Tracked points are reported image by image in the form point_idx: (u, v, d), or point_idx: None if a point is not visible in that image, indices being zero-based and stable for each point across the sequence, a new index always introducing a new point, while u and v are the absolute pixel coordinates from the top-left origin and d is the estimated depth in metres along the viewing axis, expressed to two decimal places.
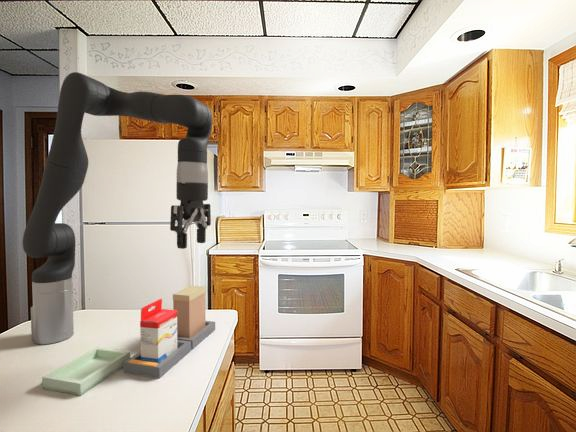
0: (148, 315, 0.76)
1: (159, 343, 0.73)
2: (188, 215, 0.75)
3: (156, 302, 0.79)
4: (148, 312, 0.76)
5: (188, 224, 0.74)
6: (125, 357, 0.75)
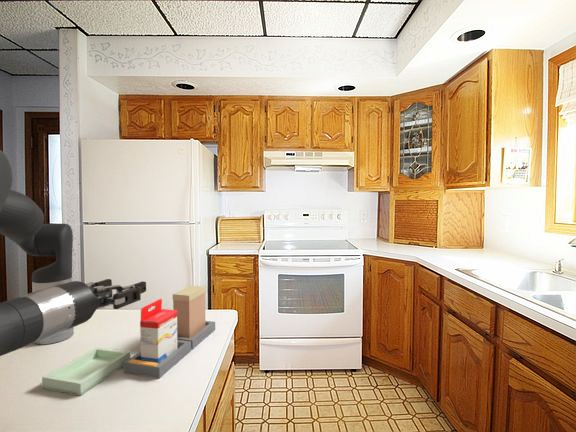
0: (148, 315, 0.76)
1: (159, 343, 0.73)
2: None
3: (155, 302, 0.79)
4: (148, 312, 0.76)
5: None
6: (125, 357, 0.75)
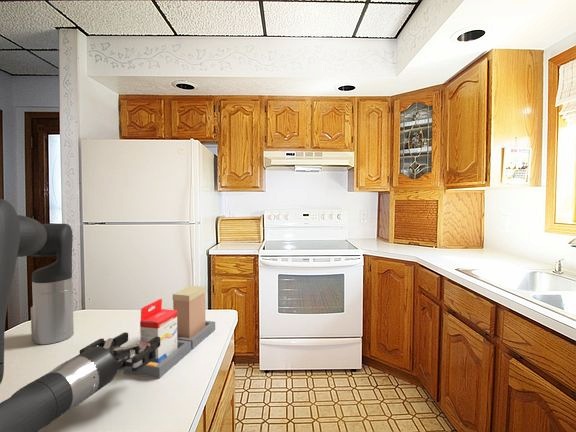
0: (148, 315, 0.76)
1: None
2: None
3: (156, 302, 0.79)
4: (148, 312, 0.76)
5: None
6: None
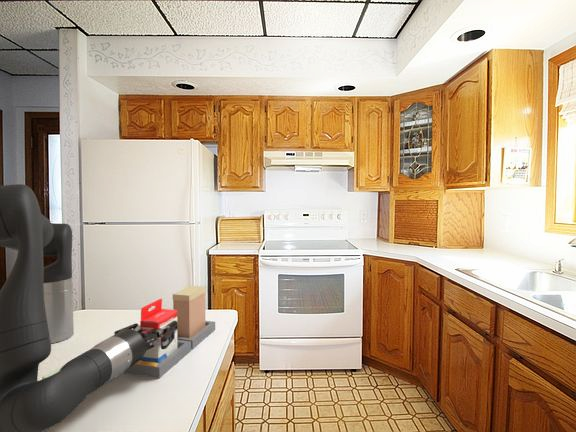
0: (148, 315, 0.76)
1: None
2: None
3: (156, 302, 0.79)
4: (148, 312, 0.76)
5: None
6: None
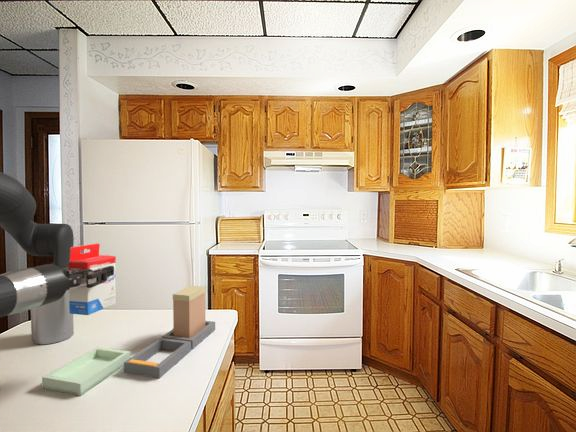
0: (80, 257, 0.70)
1: None
2: None
3: (91, 246, 0.72)
4: (80, 254, 0.70)
5: None
6: (125, 357, 0.75)
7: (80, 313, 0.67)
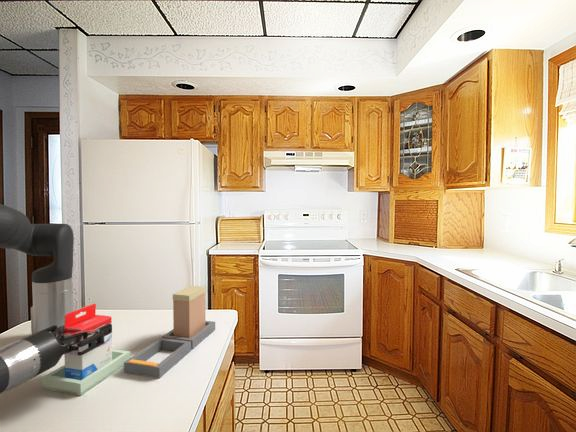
0: (75, 322, 0.70)
1: None
2: None
3: (86, 308, 0.72)
4: (75, 318, 0.70)
5: None
6: (125, 357, 0.75)
7: None
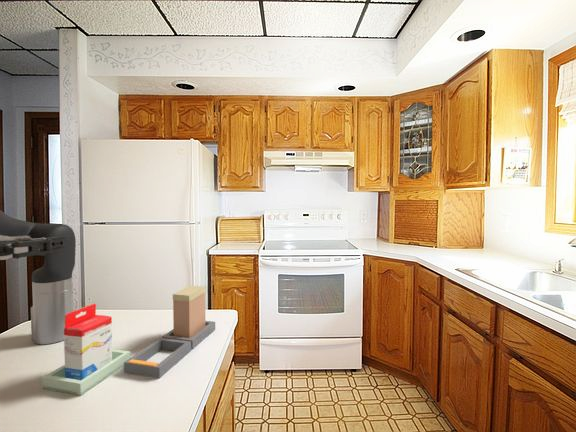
0: (76, 322, 0.70)
1: (83, 353, 0.67)
2: None
3: (87, 308, 0.72)
4: (75, 318, 0.70)
5: None
6: (125, 357, 0.75)
7: None
